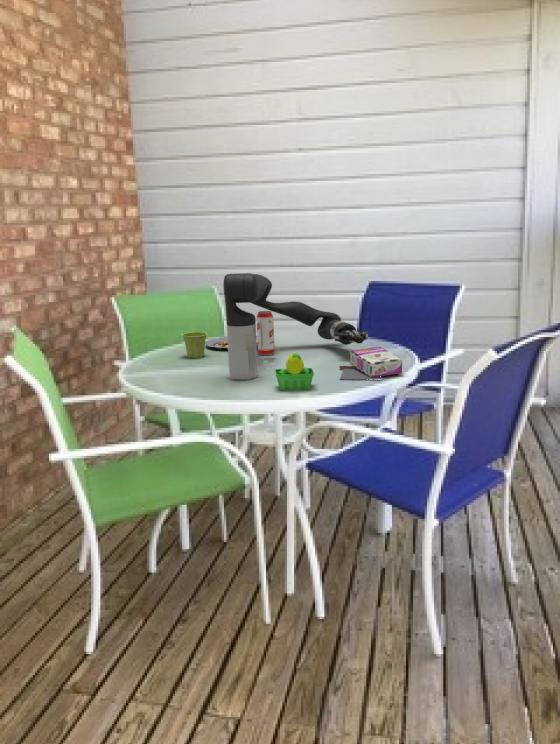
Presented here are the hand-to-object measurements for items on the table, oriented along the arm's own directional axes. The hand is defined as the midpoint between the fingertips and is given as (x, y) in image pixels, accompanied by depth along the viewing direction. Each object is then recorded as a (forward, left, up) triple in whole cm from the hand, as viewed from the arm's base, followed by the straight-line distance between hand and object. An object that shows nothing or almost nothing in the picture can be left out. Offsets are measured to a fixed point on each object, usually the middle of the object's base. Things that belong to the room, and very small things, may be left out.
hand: (360, 340), depth 221 cm
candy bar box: (-4, -2, -4) cm, 6 cm away
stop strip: (-9, -2, -8) cm, 12 cm away
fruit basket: (-33, +17, -8) cm, 38 cm away
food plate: (+32, +52, -9) cm, 62 cm away
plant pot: (+10, +62, -8) cm, 64 cm away
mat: (-16, -2, -8) cm, 18 cm away
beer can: (+15, +36, -8) cm, 40 cm away
